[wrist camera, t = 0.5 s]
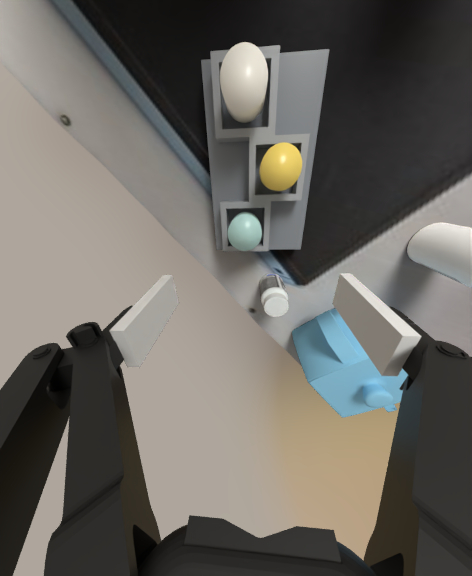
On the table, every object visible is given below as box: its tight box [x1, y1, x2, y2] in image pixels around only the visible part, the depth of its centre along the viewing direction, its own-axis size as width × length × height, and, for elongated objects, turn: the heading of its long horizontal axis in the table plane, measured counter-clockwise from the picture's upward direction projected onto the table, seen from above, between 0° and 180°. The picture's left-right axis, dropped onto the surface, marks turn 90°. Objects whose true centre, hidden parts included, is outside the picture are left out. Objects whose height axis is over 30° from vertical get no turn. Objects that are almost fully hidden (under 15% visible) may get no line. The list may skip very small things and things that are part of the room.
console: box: [201, 45, 329, 252], centre depth 26 cm, size 22×14×6 cm, turn 2°
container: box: [292, 308, 408, 417], centre depth 36 cm, size 17×25×15 cm
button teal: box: [228, 212, 262, 251], centre depth 25 cm, size 4×4×4 cm
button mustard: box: [259, 142, 302, 191], centre depth 22 cm, size 4×4×4 cm
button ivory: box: [220, 42, 268, 123], centre depth 19 cm, size 4×4×4 cm
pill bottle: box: [259, 273, 289, 317], centre depth 34 cm, size 5×5×8 cm
